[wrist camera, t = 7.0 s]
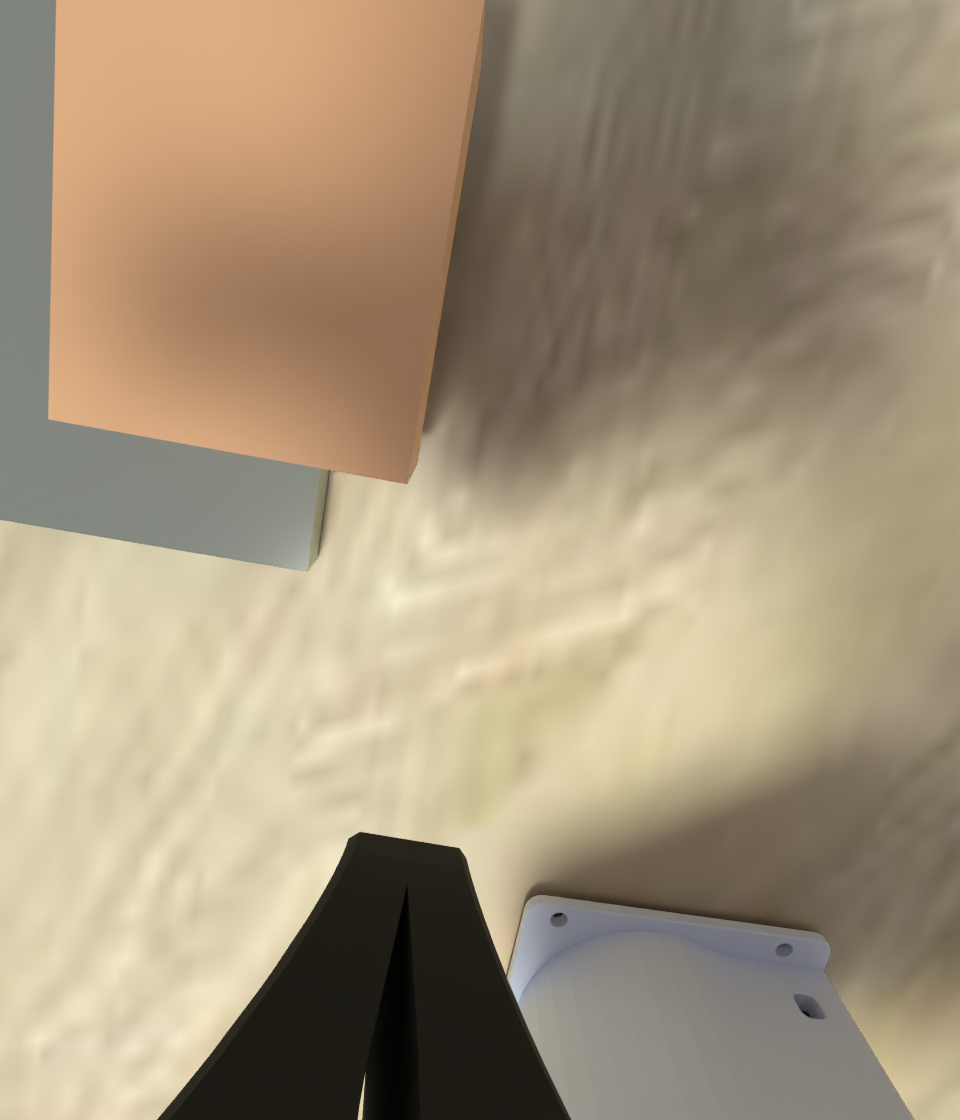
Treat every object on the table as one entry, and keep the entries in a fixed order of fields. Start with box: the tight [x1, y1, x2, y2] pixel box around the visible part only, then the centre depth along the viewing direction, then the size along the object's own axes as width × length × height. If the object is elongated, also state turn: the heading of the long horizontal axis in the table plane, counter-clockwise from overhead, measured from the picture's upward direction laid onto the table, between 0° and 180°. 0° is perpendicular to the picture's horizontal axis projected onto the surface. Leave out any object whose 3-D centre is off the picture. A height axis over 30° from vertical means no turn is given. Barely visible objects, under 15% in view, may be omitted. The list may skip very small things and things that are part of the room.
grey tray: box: [0, 0, 329, 572], centre depth 14 cm, size 11×14×2 cm
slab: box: [48, 0, 486, 484], centre depth 13 cm, size 3×8×6 cm
